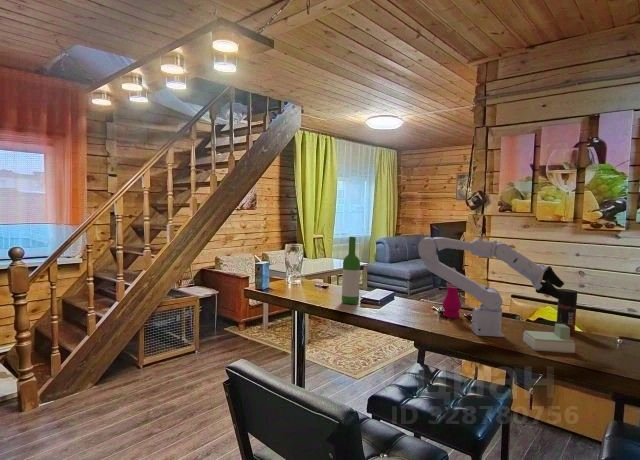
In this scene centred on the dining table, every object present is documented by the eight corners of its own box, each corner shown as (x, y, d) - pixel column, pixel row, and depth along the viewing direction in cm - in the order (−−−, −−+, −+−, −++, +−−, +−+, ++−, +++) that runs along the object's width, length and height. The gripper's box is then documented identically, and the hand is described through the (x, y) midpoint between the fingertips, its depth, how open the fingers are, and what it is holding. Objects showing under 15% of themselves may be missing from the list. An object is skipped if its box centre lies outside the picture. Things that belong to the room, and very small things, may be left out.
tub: (534, 350, 127) (534, 341, 126) (523, 341, 136) (523, 332, 135) (574, 353, 125) (575, 343, 125) (560, 343, 134) (561, 334, 134)
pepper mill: (461, 319, 161) (464, 269, 159) (442, 317, 162) (445, 268, 161) (459, 314, 168) (461, 267, 167) (441, 313, 169) (443, 266, 168)
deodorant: (566, 333, 146) (568, 292, 145) (552, 328, 152) (554, 289, 151) (578, 332, 148) (581, 292, 147) (564, 327, 153) (567, 288, 152)
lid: (535, 341, 127) (535, 327, 126) (524, 332, 135) (525, 320, 135) (574, 343, 125) (575, 330, 125) (561, 334, 134) (561, 322, 134)
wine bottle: (338, 302, 183) (340, 236, 182) (350, 300, 188) (353, 236, 186) (349, 305, 177) (351, 237, 175) (362, 303, 182) (364, 237, 180)
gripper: (530, 268, 130) (569, 294, 127) (535, 250, 142) (571, 273, 138) (516, 282, 135) (553, 308, 131) (522, 263, 146) (556, 286, 143)
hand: (561, 291), depth 135 cm, fingers open, 7 cm apart
